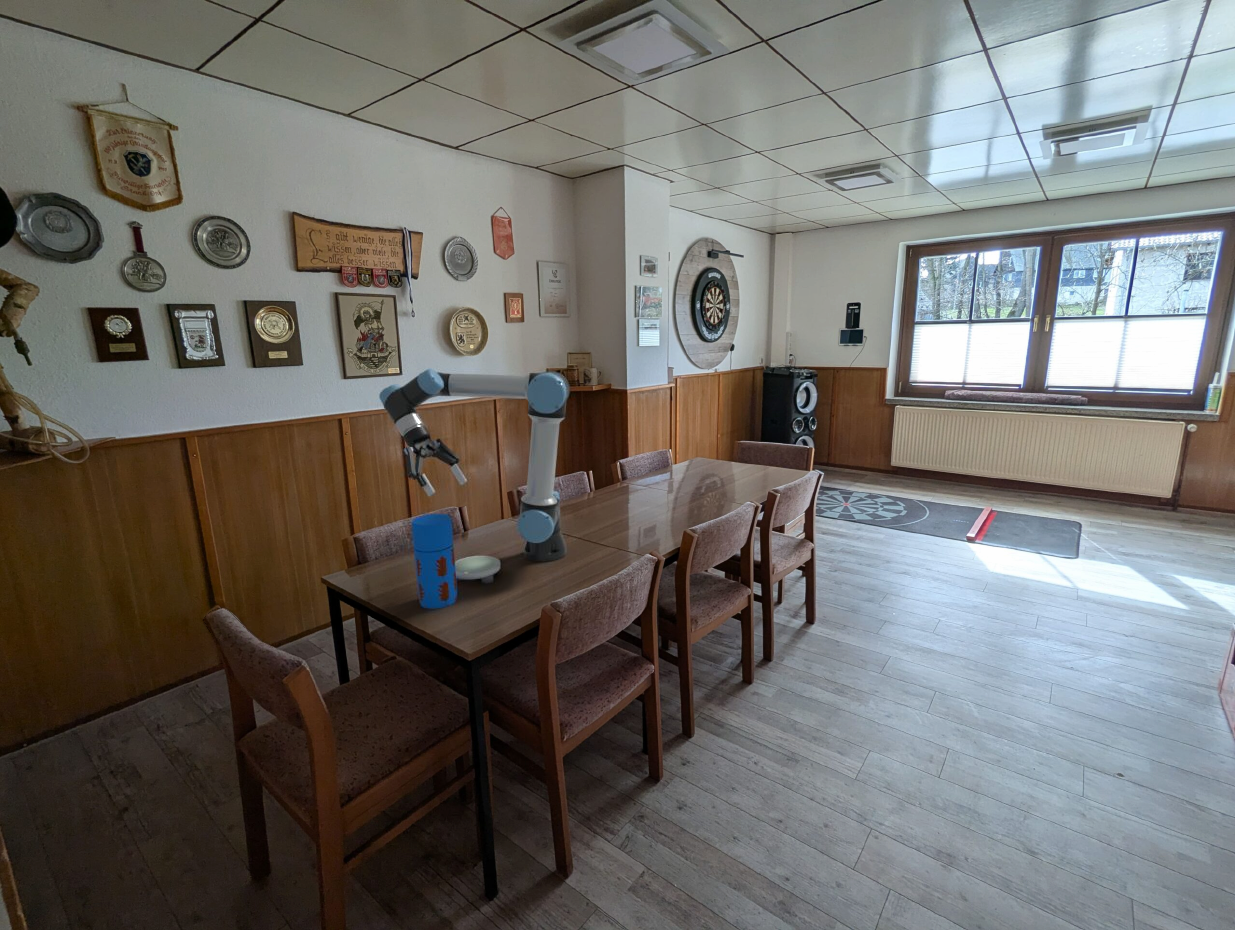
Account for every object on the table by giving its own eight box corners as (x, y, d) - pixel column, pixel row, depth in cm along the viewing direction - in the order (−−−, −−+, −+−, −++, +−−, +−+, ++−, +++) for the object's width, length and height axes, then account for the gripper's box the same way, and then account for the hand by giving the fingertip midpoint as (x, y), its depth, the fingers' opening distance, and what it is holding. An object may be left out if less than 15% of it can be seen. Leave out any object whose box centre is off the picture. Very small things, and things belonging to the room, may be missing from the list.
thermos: (461, 592, 173) (455, 513, 168) (452, 608, 163) (445, 524, 158) (425, 593, 173) (417, 514, 168) (414, 609, 163) (405, 525, 157)
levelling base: (441, 585, 178) (440, 573, 177) (462, 565, 194) (461, 554, 193) (490, 588, 176) (489, 575, 175) (507, 567, 191) (507, 556, 190)
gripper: (436, 430, 191) (469, 484, 190) (374, 445, 170) (410, 505, 168) (448, 418, 187) (482, 473, 186) (387, 431, 166) (424, 493, 164)
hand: (448, 488), depth 177 cm, fingers open, 13 cm apart
